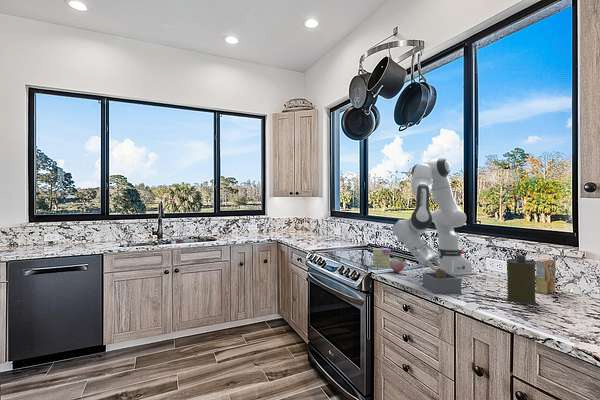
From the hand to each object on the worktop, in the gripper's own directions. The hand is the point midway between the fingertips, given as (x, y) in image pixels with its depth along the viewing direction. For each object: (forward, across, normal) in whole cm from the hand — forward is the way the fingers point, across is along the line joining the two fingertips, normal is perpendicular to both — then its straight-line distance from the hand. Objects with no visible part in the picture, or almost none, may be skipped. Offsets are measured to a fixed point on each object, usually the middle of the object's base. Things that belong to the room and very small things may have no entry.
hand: (437, 267), depth 154 cm
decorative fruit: (-13, +22, +28) cm, 38 cm away
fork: (-10, +50, +26) cm, 58 cm away
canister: (+32, +3, -16) cm, 36 cm away
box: (-23, +34, +39) cm, 57 cm away
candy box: (+39, +25, -22) cm, 51 cm away
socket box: (+9, 0, +6) cm, 11 cm away
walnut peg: (+9, 0, +6) cm, 11 cm away
